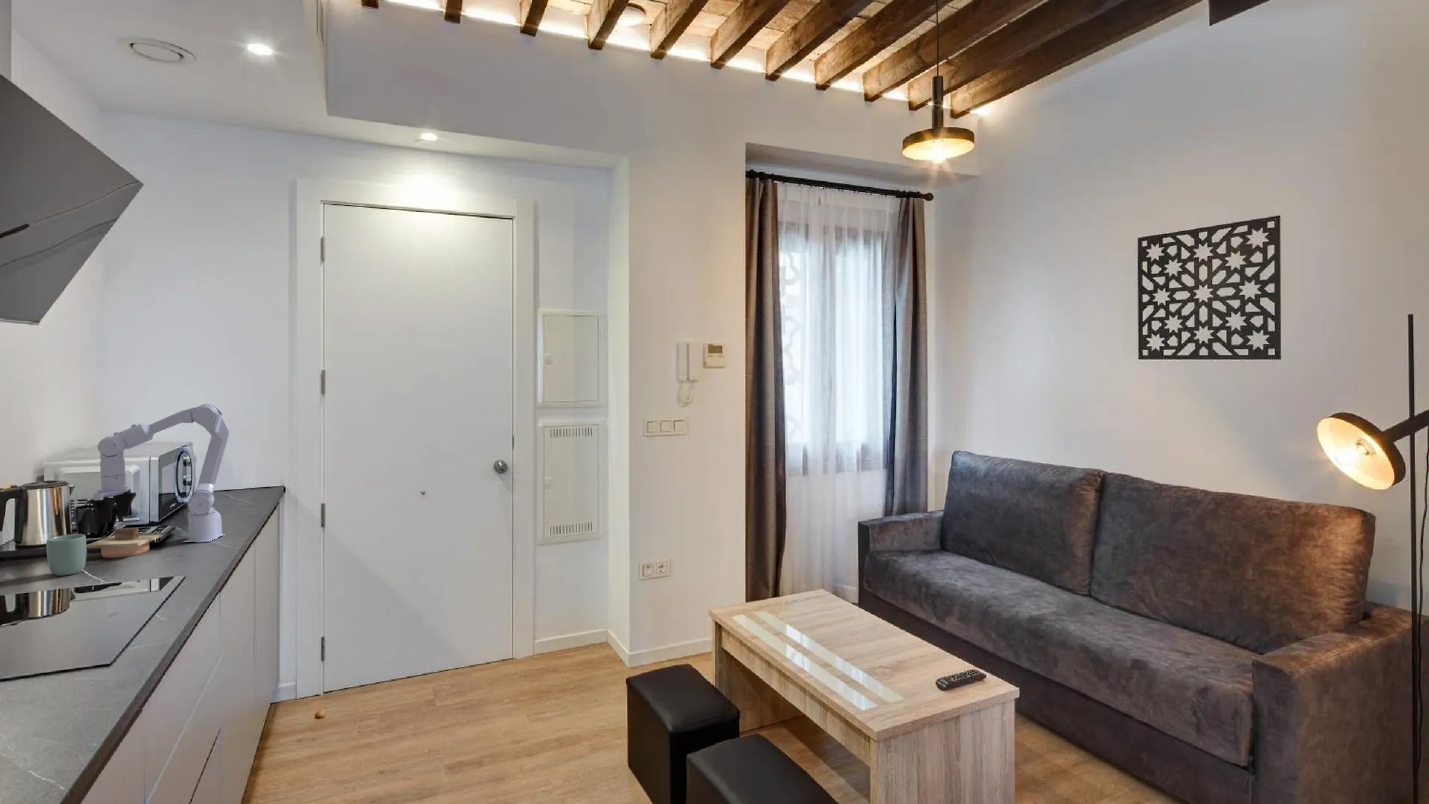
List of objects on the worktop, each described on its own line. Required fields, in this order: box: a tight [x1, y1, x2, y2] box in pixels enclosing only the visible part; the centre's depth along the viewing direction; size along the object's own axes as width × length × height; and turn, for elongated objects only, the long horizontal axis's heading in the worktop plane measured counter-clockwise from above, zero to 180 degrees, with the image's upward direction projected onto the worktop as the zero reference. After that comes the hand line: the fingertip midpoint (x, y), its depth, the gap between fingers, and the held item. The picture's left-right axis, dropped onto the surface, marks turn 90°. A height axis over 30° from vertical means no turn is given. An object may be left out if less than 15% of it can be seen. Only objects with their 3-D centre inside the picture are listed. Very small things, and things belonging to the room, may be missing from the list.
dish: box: [100, 541, 150, 559], centre depth 208 cm, size 11×11×4 cm
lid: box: [86, 527, 167, 549], centre depth 208 cm, size 14×14×4 cm
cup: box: [45, 533, 88, 577], centre depth 187 cm, size 8×8×10 cm
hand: (115, 519), depth 212 cm, fingers open, 7 cm apart
